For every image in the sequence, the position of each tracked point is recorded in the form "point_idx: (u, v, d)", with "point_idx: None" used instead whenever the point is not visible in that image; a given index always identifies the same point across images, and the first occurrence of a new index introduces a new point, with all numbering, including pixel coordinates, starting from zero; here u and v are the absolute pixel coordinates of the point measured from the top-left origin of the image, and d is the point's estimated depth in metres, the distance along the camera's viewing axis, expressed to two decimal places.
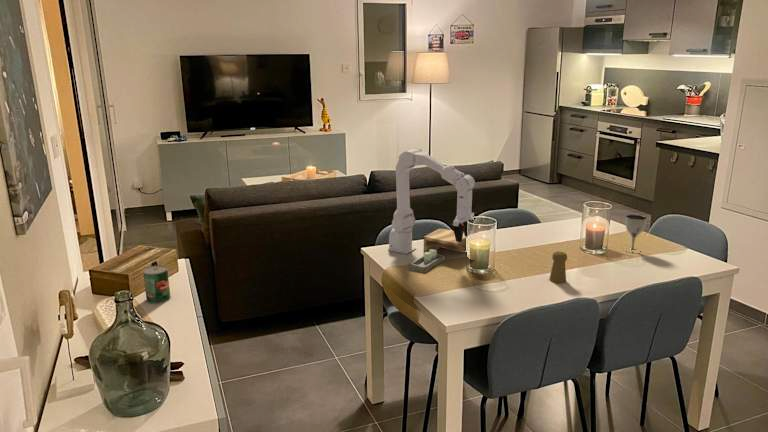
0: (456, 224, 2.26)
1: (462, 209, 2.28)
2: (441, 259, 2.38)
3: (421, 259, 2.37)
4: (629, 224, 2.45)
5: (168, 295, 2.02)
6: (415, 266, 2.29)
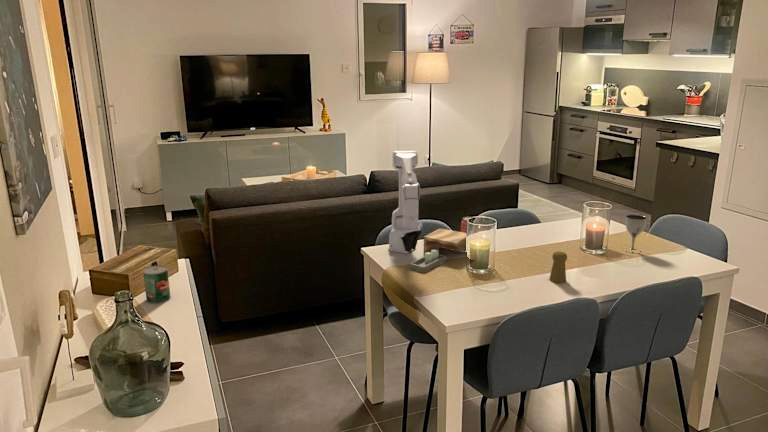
0: (401, 235, 2.14)
1: (408, 219, 2.16)
2: (442, 259, 2.37)
3: (422, 259, 2.37)
4: (629, 224, 2.45)
5: (168, 295, 2.02)
6: (415, 266, 2.29)
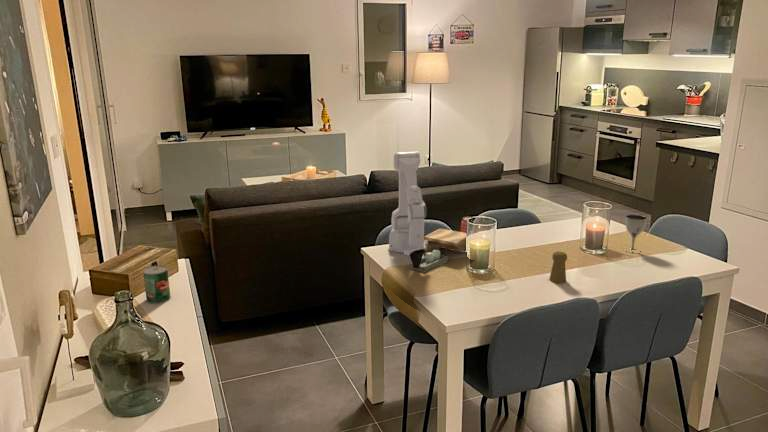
0: (407, 253, 2.20)
1: (414, 237, 2.22)
2: (444, 260, 2.37)
3: (424, 259, 2.37)
4: (629, 224, 2.45)
5: (168, 295, 2.02)
6: None
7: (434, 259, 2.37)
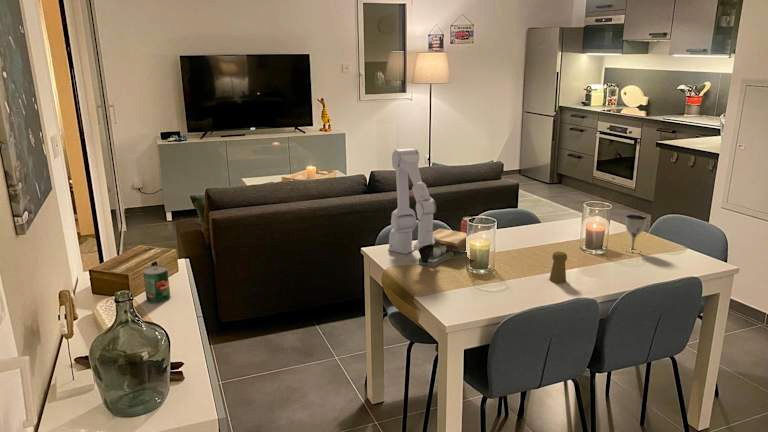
0: (416, 248, 2.25)
1: (423, 233, 2.27)
2: (450, 254, 2.43)
3: (431, 254, 2.42)
4: (629, 224, 2.45)
5: (168, 295, 2.02)
6: None
7: (440, 253, 2.43)
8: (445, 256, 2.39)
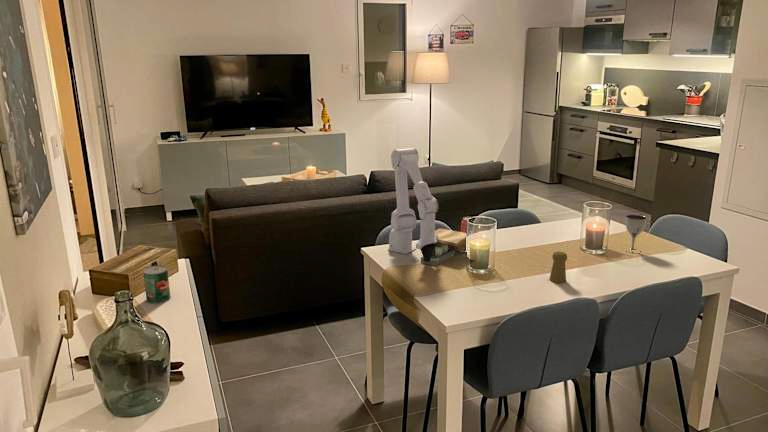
0: (419, 247, 2.26)
1: (425, 232, 2.28)
2: (452, 253, 2.44)
3: (432, 253, 2.44)
4: (629, 224, 2.45)
5: (168, 295, 2.02)
6: None
7: (442, 253, 2.44)
8: (447, 255, 2.41)
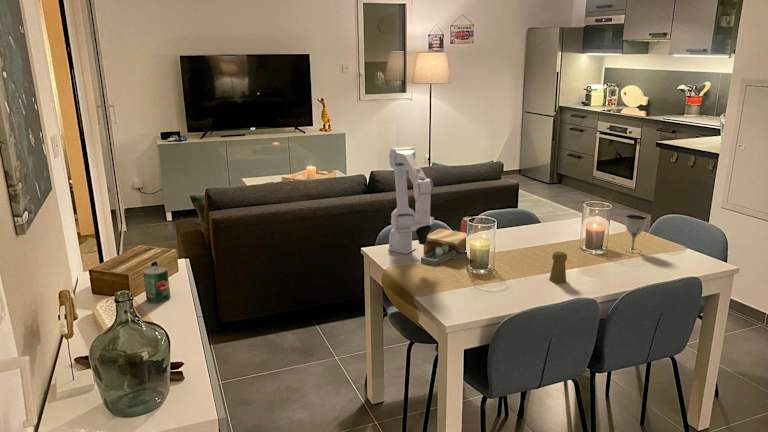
0: (413, 229, 2.21)
1: (420, 213, 2.23)
2: (452, 253, 2.44)
3: (433, 253, 2.44)
4: (629, 224, 2.45)
5: (168, 295, 2.02)
6: (427, 259, 2.36)
7: (443, 253, 2.44)
8: (447, 255, 2.41)
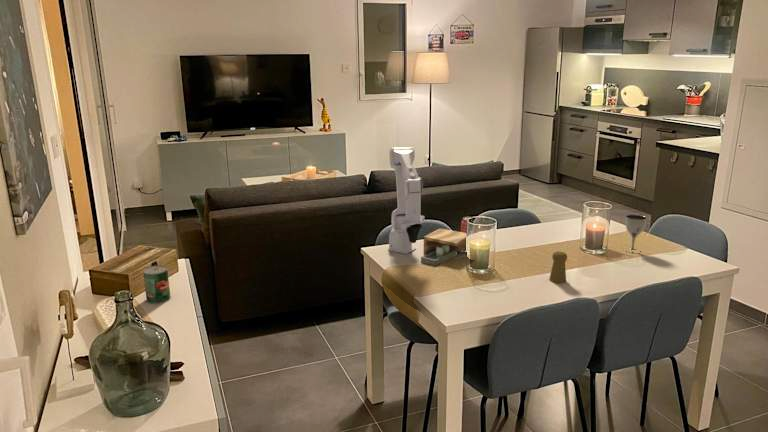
0: (404, 227, 2.23)
1: (410, 212, 2.25)
2: (453, 253, 2.44)
3: (433, 253, 2.44)
4: (629, 224, 2.45)
5: (168, 295, 2.02)
6: (427, 259, 2.36)
7: (443, 253, 2.44)
8: (448, 255, 2.41)
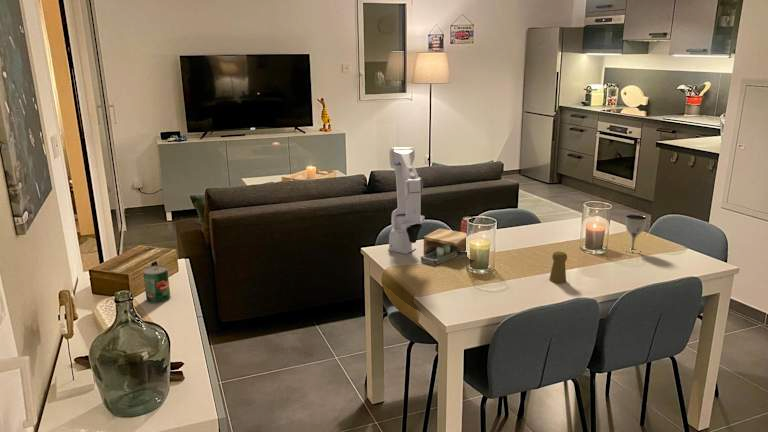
0: (404, 227, 2.23)
1: (410, 212, 2.25)
2: (454, 254, 2.44)
3: (434, 253, 2.44)
4: (629, 224, 2.45)
5: (168, 295, 2.02)
6: (426, 259, 2.36)
7: (444, 253, 2.44)
8: (448, 256, 2.40)
